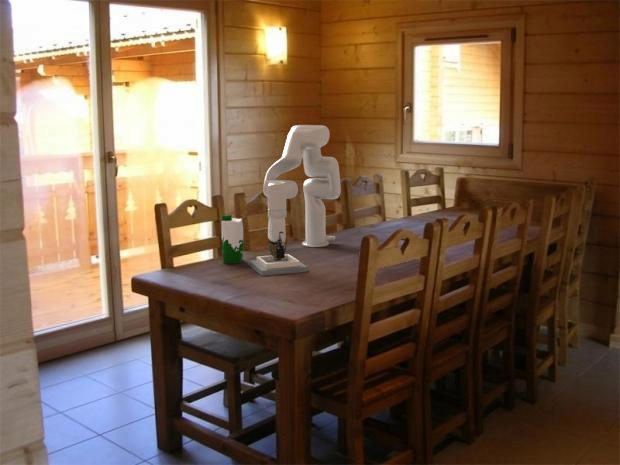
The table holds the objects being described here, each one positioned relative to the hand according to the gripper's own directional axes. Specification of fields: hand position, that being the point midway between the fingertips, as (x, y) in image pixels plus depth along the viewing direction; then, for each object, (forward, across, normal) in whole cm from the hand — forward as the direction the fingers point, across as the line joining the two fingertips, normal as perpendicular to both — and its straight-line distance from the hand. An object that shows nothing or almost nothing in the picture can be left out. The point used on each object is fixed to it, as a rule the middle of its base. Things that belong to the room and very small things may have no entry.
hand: (277, 256), depth 294 cm
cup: (+2, 0, 0) cm, 2 cm away
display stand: (+5, 0, 0) cm, 5 cm away
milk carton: (+5, -19, -14) cm, 24 cm away
